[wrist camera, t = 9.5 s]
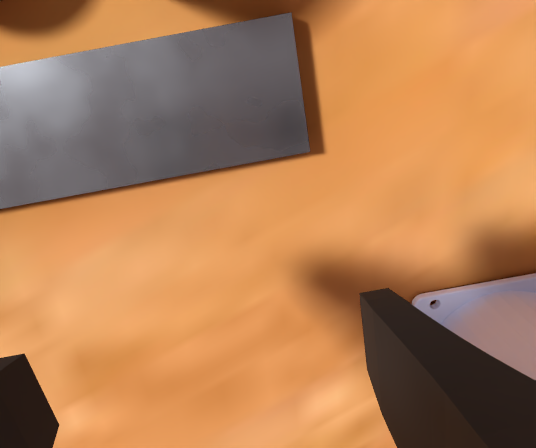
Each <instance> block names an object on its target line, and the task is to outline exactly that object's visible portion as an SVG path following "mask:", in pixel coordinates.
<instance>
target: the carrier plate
mask: <svg viewBox="0 0 536 448" xmlns="http://www.w3.org/2000/svg"><path fill="white" fill-rule="evenodd" d="M0 1H2V0H0ZM307 152H310V147H309V139H308V132H307V124H306V117H305V110H304V102H303V95H302V87H301V80H300V73H299V65H298V58H297V51H296V43H295V36H294V28H293V21H292V14H291V13H286V14H281V15H275V16H270V17H265V18H259V19H254V20H249V21H243V22H238V23H233V24H227V25H222V26H217V27H211V28H206V29H201V30H195V31H190V32H185V33H179V34H174V35H169V36H163V37H158V38H153V39H147V40H142V41H137V42H131V43H126V44H121V45H115V46H110V47H105V48H99V49H94V50H89V51H83V52H78V53H73V54H67V55H62V56H57V57H51V58H46V59H41V60H35V61H30V62H25V63H19V64H14V65H9V66H3V67H0V209H3V208H8V207H13V206H19V205H24V204H30V203H35V202H41V201H46V200H51V199H57V198H62V197H68V196H73V195H79V194H84V193H90V192H95V191H100V190H106V189H111V188H117V187H122V186H128V185H133V184H138V183H144V182H149V181H155V180H160V179H166V178H171V177H176V176H182V175H187V174H193V173H198V172H204V171H209V170H214V169H220V168H225V167H231V166H236V165H242V164H247V163H252V162H258V161H263V160H269V159H274V158H280V157H285V156H290V155H296V154H301V153H307Z"/></svg>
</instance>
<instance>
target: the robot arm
mask: <svg viewBox="0 0 536 448" xmlns="http://www.w3.org/2000/svg"><path fill="white" fill-rule="evenodd" d="M359 295H360V305H361V314H362V324H363V334H364V343H365V353H366V362H367V371H368V374H369V377H370V380H371V383H372V386H373V389H374V392H375V395H376V398H377V401H378V404H379V407H380V410H381V412H382V415H383V417H384V420H385V422H386V424H387V426H388V428H389V431H390V433H391V435H392V437H393V439H394V442H395V444H396V446H397V448H536V273H534V274H528V275H522V276H517V277H511V278H506V279H500V280H495V281H489V282H484V283H478V284H473V285H467V286H461V287H456V288H450V289H445V290H439V291H434V292H428V293H423V294H419V295H417V296H416V297H415V298H414V299H413V301H412V304H410V303H409V302H407V301H406V300H405V299H403V298H402V297H400V296H399V295H397V294H396V293H395V292H393V291H392V290H390V289H389V288H386V289H380V290H375V291H369V292H363V293H359ZM433 300H437V301H436V302H435V303H434V304H432V305H430V303H431V302H432V301H433ZM58 427H59V423H58V421H57V419H56V417H55V415H54V413H53V411H52V409H51V407H50V405H49V403H48V401H47V399H46V397H45V395H44V393H43V391H42V389H41V387H40V385H39V383H38V380H37V378H36V376H35V374H34V372H33V370H32V368H31V366H30V364H29V362H28V360H27V358H26V356H25V354H20V355H15V356H9V357H4V358H0V448H53V444H54V441H55V437H56V434H57V431H58Z"/></svg>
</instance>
